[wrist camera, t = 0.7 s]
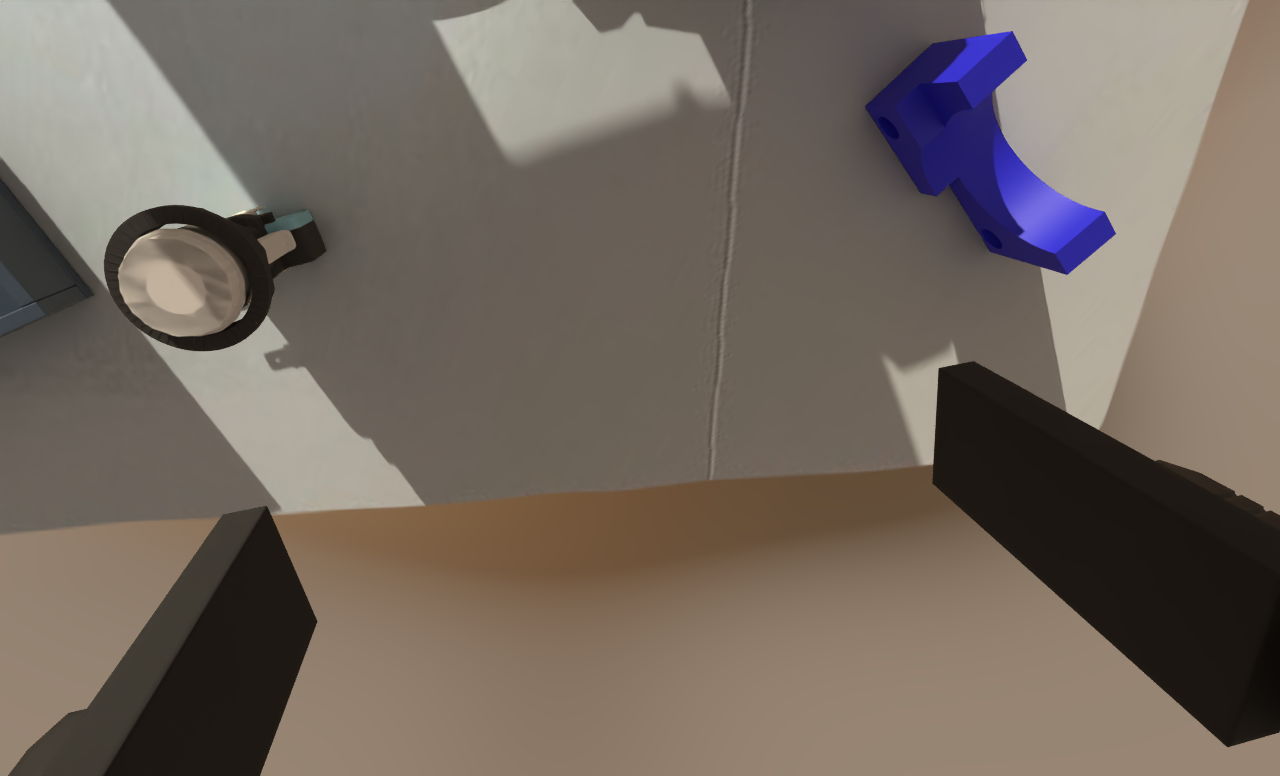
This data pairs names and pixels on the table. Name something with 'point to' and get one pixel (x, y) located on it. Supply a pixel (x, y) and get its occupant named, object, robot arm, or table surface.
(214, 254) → the push button
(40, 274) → the parts tray
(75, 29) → the table surface
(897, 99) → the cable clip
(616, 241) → the table surface
